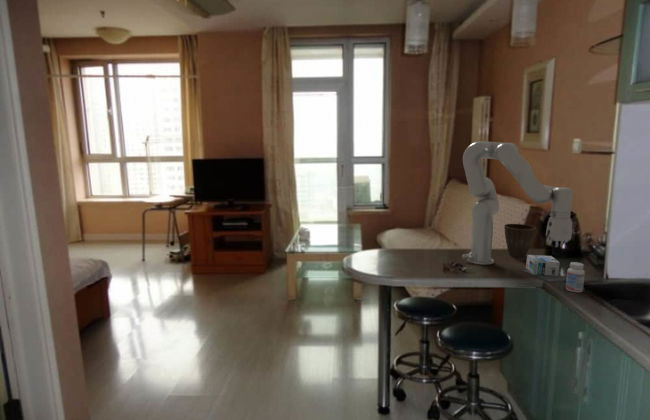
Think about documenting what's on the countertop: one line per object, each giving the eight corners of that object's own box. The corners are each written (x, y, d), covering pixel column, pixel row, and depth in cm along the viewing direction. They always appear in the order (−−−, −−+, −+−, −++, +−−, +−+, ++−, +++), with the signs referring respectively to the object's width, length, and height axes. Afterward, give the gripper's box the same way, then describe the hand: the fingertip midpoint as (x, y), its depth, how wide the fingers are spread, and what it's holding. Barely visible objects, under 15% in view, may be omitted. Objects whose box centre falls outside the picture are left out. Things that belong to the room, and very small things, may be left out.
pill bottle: (562, 287, 170) (564, 261, 168) (576, 287, 170) (578, 261, 169) (572, 293, 164) (574, 266, 162) (586, 292, 165) (589, 265, 163)
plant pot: (523, 252, 225) (526, 223, 223) (539, 259, 211) (541, 229, 208) (497, 252, 225) (499, 223, 222) (510, 260, 210) (513, 229, 207)
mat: (548, 281, 177) (548, 281, 177) (523, 270, 193) (523, 270, 193) (570, 280, 180) (570, 279, 180) (543, 269, 195) (543, 268, 195)
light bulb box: (560, 262, 183) (534, 260, 184) (558, 276, 184) (532, 275, 185) (551, 255, 193) (526, 254, 195) (549, 269, 194) (525, 268, 196)
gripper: (552, 217, 178) (547, 258, 181) (581, 216, 181) (576, 256, 184) (539, 214, 185) (535, 253, 188) (567, 213, 188) (563, 251, 191)
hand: (555, 254), depth 186 cm, fingers closed
